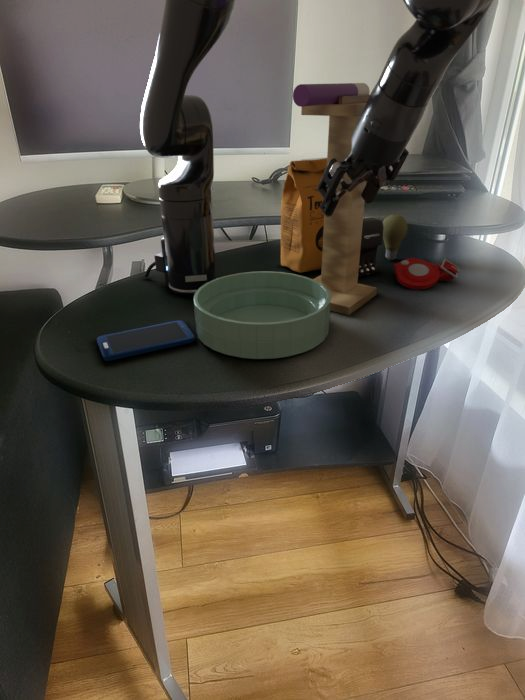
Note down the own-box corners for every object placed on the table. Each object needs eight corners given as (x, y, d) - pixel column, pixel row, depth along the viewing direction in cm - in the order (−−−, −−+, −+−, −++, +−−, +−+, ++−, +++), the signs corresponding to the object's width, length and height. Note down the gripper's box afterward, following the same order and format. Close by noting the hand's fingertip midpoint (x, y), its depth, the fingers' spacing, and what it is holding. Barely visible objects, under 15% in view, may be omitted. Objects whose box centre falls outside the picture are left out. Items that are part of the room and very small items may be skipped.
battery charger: (353, 280, 96) (358, 223, 91) (342, 274, 99) (346, 218, 94) (381, 274, 99) (388, 218, 93) (370, 269, 102) (375, 214, 96)
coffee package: (348, 269, 102) (357, 159, 91) (297, 279, 97) (300, 163, 86) (323, 256, 110) (329, 153, 99) (275, 264, 105) (275, 157, 94)
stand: (289, 299, 88) (293, 96, 72) (320, 281, 96) (329, 94, 80) (348, 315, 82) (366, 96, 66) (376, 295, 89) (398, 94, 73)
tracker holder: (416, 288, 89) (383, 261, 95) (413, 306, 92) (381, 278, 98) (467, 264, 92) (431, 239, 98) (463, 282, 95) (428, 257, 101)
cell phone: (96, 340, 74) (95, 336, 74) (182, 323, 79) (182, 319, 79) (104, 362, 69) (103, 357, 68) (197, 341, 74) (196, 337, 73)
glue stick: (305, 109, 63) (311, 88, 62) (290, 102, 64) (295, 81, 62) (366, 104, 76) (372, 86, 74) (352, 98, 77) (358, 80, 75)
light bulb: (384, 254, 110) (389, 210, 105) (407, 259, 107) (413, 213, 102) (373, 260, 107) (377, 215, 102) (396, 265, 103) (402, 219, 99)
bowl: (168, 336, 76) (164, 301, 73) (250, 294, 91) (249, 263, 88) (279, 377, 65) (279, 338, 62) (352, 321, 79) (355, 287, 77)
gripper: (410, 94, 69) (365, 180, 83) (332, 110, 63) (299, 200, 77) (442, 129, 67) (391, 211, 81) (365, 149, 61) (324, 234, 75)
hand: (346, 206), depth 79 cm, fingers open, 8 cm apart
